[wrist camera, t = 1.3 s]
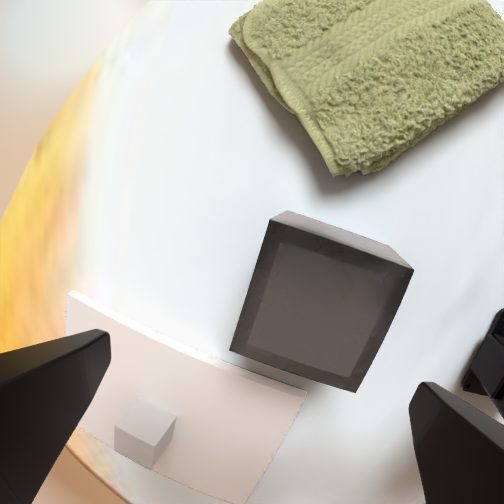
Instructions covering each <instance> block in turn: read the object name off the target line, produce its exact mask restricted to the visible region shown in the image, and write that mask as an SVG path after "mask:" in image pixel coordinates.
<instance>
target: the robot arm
mask: <svg viewBox="0 0 504 504" xmlns="http://www.w3.org/2000/svg"><path fill="white" fill-rule="evenodd" d="M503 315H504V308H503V309H501V310H500V311H499V312H498V314H497V316H496V319H495V321H494V323H493V325H492V327H491V329H490V331H489V333H488V335H487V337H486V339H485V341H484V343H483V345H482V346H481V348H480V350H479V352H478V354H477V356H476V358H475V359H474V361H473V363H472V365H471V367H470V369H469V370H468V372H467V374H466V375H465V377H464V379H463V380H462V382H461V387H462V389H463V390H464V391H467V392H471V393H476V394H480V395H485V396H489V397H490V398H491V399H492V401H493V402H494V404H495V406H496V407H497V409H498V411H499V412H500V414H501V416H502V417H503V419H504V318H503V319H502V317H503ZM110 362H111V340H110V334H109V333H108V332H107V331H104V330H100V329H92V330H89V331H85V332H81V333H78V334H74V335H70V336H66V337H63V338H59V339H55V340H51V341H47V342H44V343H40V344H36V345H32V346H28V347H24V348H20V349H16V350H12V351H8V352H4V353H0V504H32V502H33V500H34V498H35V496H36V495H37V493H38V491H39V489H40V487H41V486H42V484H43V482H44V480H45V479H46V477H47V475H48V473H49V472H50V470H51V468H52V467H53V465H54V463H55V461H56V460H57V458H58V456H59V455H60V453H61V451H62V450H63V448H64V446H65V445H66V443H67V441H68V440H69V438H70V436H71V435H72V433H73V431H74V430H75V428H76V427H77V425H78V423H79V422H80V420H81V419H82V417H83V415H84V414H85V412H86V411H87V409H88V407H89V406H90V404H91V402H92V400H93V398H94V396H95V394H96V392H97V390H98V388H99V386H100V383H101V381H102V379H103V377H104V375H105V373H106V371H107V369H108V367H109V365H110ZM467 383H469V384H468V385H466V384H467ZM409 416H410V423H411V429H412V436H413V444H414V450H415V455H416V459H417V463H418V468H419V472H420V476H421V481H422V485H423V490H424V495H425V500H426V504H504V425H503V424H501V423H499V422H498V421H496V420H494V419H493V418H491V417H489V416H488V415H486V414H485V413H483V412H481V411H480V410H478V409H476V408H475V407H473V406H471V405H470V404H468V403H467V402H465V401H463V400H462V399H460V398H458V397H457V396H455V395H454V394H452V393H450V392H449V391H447V390H446V389H444V388H442V387H441V386H439V385H437V384H436V383H434V382H422V383H420V384H419V386H418V388H417V390H416V392H415V394H414V396H413V398H412V400H411V402H410V404H409Z"/></svg>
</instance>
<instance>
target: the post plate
mask: <svg viewBox="0 0 504 504" xmlns="http://www.w3.org/2000/svg"><path fill="white" fill-rule="evenodd" d="M92 329H100V330H104V331H107V332H108V333H109V334H110V340H111V362H110V365H109V367H108V369H107V371H106V373H105V375H104V377H103V379H102V381H101V383H100V386H99V388H98V390H97V392H96V394H95V396H94V398H93V400H92V402H91V404H90V406H89V407H88V409H87V411H86V412H85V414H84V415H83V417H82V419H81V420H80V422H79V423H78V425H77V426H78V427H80V428H81V429H83V430H84V431H86V432H87V433H89V434H90V435H92V436H93V437H95V438H97V439H98V440H100V441H101V442H103V443H105V444H106V445H108V446H110V447H111V448H113V449H114V450H115V451H116V452H118V453H120V454H122V455H123V456H125V457H127V458H129V459H131V460H132V461H134V462H136V463H138V464H140V465H142V466H144V467H146V468H148V469H149V470H153V471H155V472H157V473H160V474H162V475H164V476H166V477H168V478H170V479H172V480H174V481H177V482H179V483H181V484H183V485H186V486H188V487H190V488H193V489H195V490H198V491H200V492H203V493H205V494H208V495H210V496H213V497H216V498H218V499H221V500H224V501H227V502H229V503H232V504H245V502H246V501H247V499H248V497H249V496H250V494H251V493H252V491H253V490H254V488H255V487H256V485H257V483H258V482H259V480H260V479H261V477H262V475H263V474H264V472H265V470H266V469H267V467H268V465H269V464H270V462H271V460H272V459H273V457H274V455H275V453H276V452H277V450H278V448H279V447H280V445H281V443H282V441H283V440H284V438H285V436H286V434H287V432H288V431H289V429H290V427H291V425H292V423H293V421H294V419H295V418H296V416H297V414H298V412H299V410H300V408H301V406H302V404H303V402H304V400H305V397H306V391H305V390H302V389H299V388H296V387H293V386H290V385H287V384H284V383H281V382H278V381H276V380H273V379H270V378H267V377H264V376H261V375H259V374H256V373H253V372H251V371H248V370H245V369H243V368H240V367H237V366H235V365H232V364H230V363H227V362H225V361H222V360H220V359H217V358H215V357H212V356H210V355H207V354H205V353H203V352H200V351H198V350H196V349H193V348H191V347H189V346H186V345H184V344H182V343H180V342H177V341H175V340H173V339H171V338H168V337H166V336H164V335H162V334H160V333H158V332H155V331H153V330H151V329H149V328H147V327H145V326H143V325H141V324H139V323H137V322H135V321H132V320H130V319H128V318H126V317H124V316H122V315H120V314H119V313H117V312H115V311H113V310H111V309H109V308H107V307H105V306H103V305H101V304H99V303H97V302H96V301H94V300H92V299H90V298H88V297H86V296H85V295H83V294H81V293H79V292H77V291H76V290H73V291H71V292H68V293H67V297H66V336H70V335H74V334H78V333H81V332H85V331H89V330H92Z"/></svg>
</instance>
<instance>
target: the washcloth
mask: <svg viewBox="0 0 504 504" xmlns="http://www.w3.org/2000/svg"><path fill="white" fill-rule="evenodd" d="M229 34H230V35H231V36H232V38H233V39H234V40H235V42H236V43H237V45H238V46H239V47H240V48H241V49H242V50H243V52H244V53H245V55H246V56H247V58H248V59H249V61H250V63H251V65H252V66H253V68H254V69H255V71H256V73H257V74H258V75H259V77H260V79H261V80H262V82H263V83H264V85H265V86H266V88H267V90H268V91H269V93H270V94H271V95H272V96H273V97H274V98H275V99H276V100H277V101H278V102H279V103H280V104H281V105H282V106H283V107H284V108H285V109H286V110H288V111H289V112H290V113H292V114H293V115H296V117H297V119H298V120H299V121H300V123H301V124H302V126H303V127H304V129H305V130H306V131H307V133H308V134H309V136H310V137H311V139H312V141H313V142H314V144H315V146H316V147H317V148H318V150H319V151H320V153H321V155H322V157H323V159H324V161H325V163H326V165H327V167H328V169H329V172H330V173H331V174H332V176H334V177H336V176H338V175H341V174H344V175H345V177H346V178H347V177H348V176H350V175H351V174H352V173H353V172H356V171H357V170H360V172H361V174H362V175H364V176H365V175H367V174H369V173H370V172H377V171H380V170H381V169H383V168H384V167H385V166H386V165H388V164H390V163H392V162H396V158H397V156H398V157H399V156H400V155H401V153H402V152H403V151H405V150H407V148H409V147H413V146H415V144H417V143H418V142H420V140H421V139H423V138H424V137H426V136H427V135H430V134H431V132H432V131H435V130H436V128H437V126H438V125H443V124H444V123H446V122H447V121H448V120H449V119H450V118H452V117H454V116H456V115H458V114H459V113H460V112H461V109H464V110H465V108H467V106H469V105H472V104H474V103H475V101H476V100H478V99H479V97H480V96H481V95H483V94H486V93H487V92H488V91H489V88H490V89H493V88H495V87H496V86H497V85H498V83H500V82H503V81H504V21H503V20H502V19H501V16H500V15H499V14H497V12H496V11H494V10H493V8H492V7H491V5H490V4H489V3H488V2H487V1H486V0H263V1H262V2H259V4H258V5H254V8H253V9H252V10H250V11H249V12H248V13H245V14H244V15H243V16H240V17H239V19H238V20H237V21H236V22H235V23H234V24H233V25H232V26H231V28H230V29H229Z"/></svg>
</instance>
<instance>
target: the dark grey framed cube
mask: <svg viewBox="0 0 504 504" xmlns="http://www.w3.org/2000/svg"><path fill="white" fill-rule="evenodd" d="M413 272H414V269H413V268H412V267H411V266H410V265H409V264H408V263H407V262H406V261H405V260H403V259H402V258H401V257H400V256H399V255H398V254H397V253H396V252H395V251H394V250H393V249H392V248H391V247H389V246H388V245H385V244H382V243H380V242H377V241H374V240H371V239H369V238H366V237H363V236H360V235H358V234H355V233H352V232H349V231H346V230H343V229H341V228H338V227H335V226H332V225H329V224H326V223H323V222H320V221H317V220H315V219H312V218H309V217H306V216H303V215H300V214H297V213H294V212H291V211H285V212H283V213H281V214H279V215H277V216H275V217H273V218H271V219H270V221H269V224H268V227H267V230H266V234H265V237H264V240H263V243H262V247H261V250H260V253H259V256H258V259H257V263H256V266H255V269H254V272H253V276H252V279H251V282H250V285H249V288H248V292H247V295H246V298H245V301H244V305H243V308H242V311H241V314H240V317H239V321H238V324H237V327H236V330H235V333H234V336H233V340H232V343H231V346H230V349H229V350H230V351H232V352H235V353H238V354H240V355H243V356H245V357H248V358H251V359H253V360H256V361H259V362H262V363H264V364H267V365H270V366H273V367H275V368H278V369H281V370H284V371H287V372H290V373H293V374H296V375H299V376H302V377H305V378H308V379H311V380H314V381H317V382H320V383H324V384H327V385H330V386H333V387H337V388H340V389H343V390H347V391H350V392H354V393H356V391H357V390H358V388H359V386H360V384H361V382H362V381H363V379H364V377H365V375H366V373H367V371H368V370H369V368H370V366H371V364H372V362H373V360H374V358H375V356H376V354H377V352H378V350H379V348H380V346H381V344H382V342H383V340H384V338H385V336H386V334H387V332H388V330H389V328H390V326H391V323H392V321H393V319H394V317H395V315H396V312H397V310H398V308H399V306H400V303H401V301H402V299H403V296H404V294H405V292H406V289H407V287H408V284H409V282H410V280H411V277H412V275H413Z"/></svg>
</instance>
